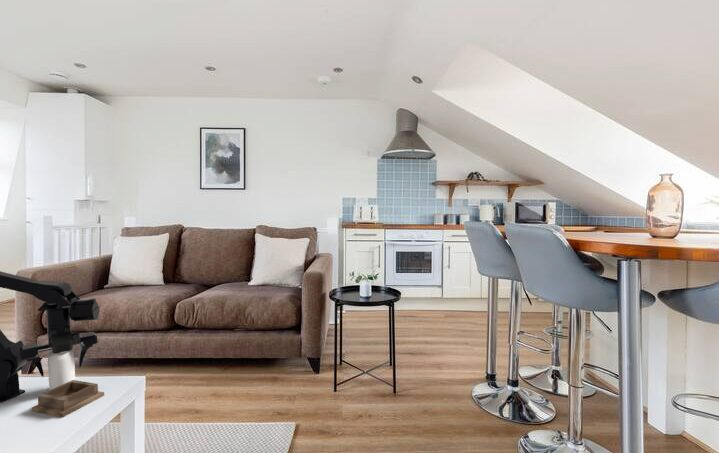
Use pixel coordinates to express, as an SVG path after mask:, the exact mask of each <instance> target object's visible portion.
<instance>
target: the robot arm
mask: <svg viewBox="0 0 719 453" xmlns="http://www.w3.org/2000/svg"><path fill="white" fill-rule="evenodd" d="M0 288H2V289H7V290H10V291H15V292H20V293H24V294H28V295H30V296H32V297H33V298H35V299H36V300H38V301H42V302H43V304H42V305H41V306H40V307H38V308H37V312H43V311H44V312H45V311H46V328H47V329H46V330H47V344H46V343H45V344H42V345H38V343H37V342H35V343H29V344H24V342H23V341H22V340H18V341H17V342H14V341H12V340H9V339H8V337H7V336H6V334H5V333H4V332H3V331H2V330H1V329H0V403H3V402H5V401H8V400H10V399H12V398H14V397H17V396H19V395H22V394H24V393H26V390H25V389H22V388H21V389H20V378H19V372H20V371H22V369H23V367H24V366H25V365H26V364H27V363H28V362H30V361H31V362H32V363H33V364H34V365H35V366H36V368H37V369H38V372H39V374H40V376H41V377H44V368H43V365H42V360H41V357H40V354H39V353H42V352H46V351H51V352H53V353H54V354H57V353H60V352H64V351H70V350H72V351H73V346H75V345H76V346H77V345H78V361H77V364H78V367H79V368H81V367H82V364H83V362H84V358H85V356H86V353H87V351H88V350H89V349H91V348H93V347H94V345H96V344H98V343H99V342H98V335H97V334H96V333H95V332H93V331H91V332H90V331H89V332H84V333H80V331H77V332H72V328H71V327H72V326H71V325H72V324H71V321H73V322H86V321H96V320H98V319H99V317H100V316H99V315H100V306H99V303H98V302H97V298H94V297H92V298H88V299H81V298H80V297H79V296H78V295H77V294H76V293H75V292H74V291H73V290H72V287H71V285H70V283H68V282H66V281H61V280H60V281H58V280H38V279H34V278H30V277H26V276H21V275H17V274H13V273H8V272H5V271H0Z"/></svg>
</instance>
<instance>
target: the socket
mask: <svg viewBox="0 0 719 453" xmlns="http://www.w3.org/2000/svg"><path fill="white" fill-rule="evenodd" d="M98 384H99V383H94V382H88V381H81V380H76V379H75V380H72V381H70V382H67V383H65V384H63V385H61V386H58V387H56V388H54V389H52V390H50V389H49V390H47V391H45V392H43V393H40V394H38V395H37V404H36V405H34V406H32V407H31V412H36V413H41V414H46V415H50V416H51V415H52V416H56V417H60V418H64V417H66V416H68V415H70V414H72V413H73V412H77V411H78V410H80V409H82V408H83V407H85V406H87V405H89V404H91V403H92V402H94V401H97V400H98V399H101V398H102V397H105V392H104V391H100V390H99V387H98V386H99V385H98Z"/></svg>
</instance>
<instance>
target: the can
mask: <svg viewBox="0 0 719 453" xmlns="http://www.w3.org/2000/svg"><path fill="white" fill-rule="evenodd" d="M48 354H49V356H48V358H47V371H48V386H49V388H48V389H49V391H50V390H52V389H54V388H56V387H58V386H61V385H63V384H65V383H67V382H70V381H72V380H76V366H75V354H74V352H73V349H72V350H70V351H64V352H60V353H57V354H54V353H53V352H52V351H51V352H49V353H48Z"/></svg>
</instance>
